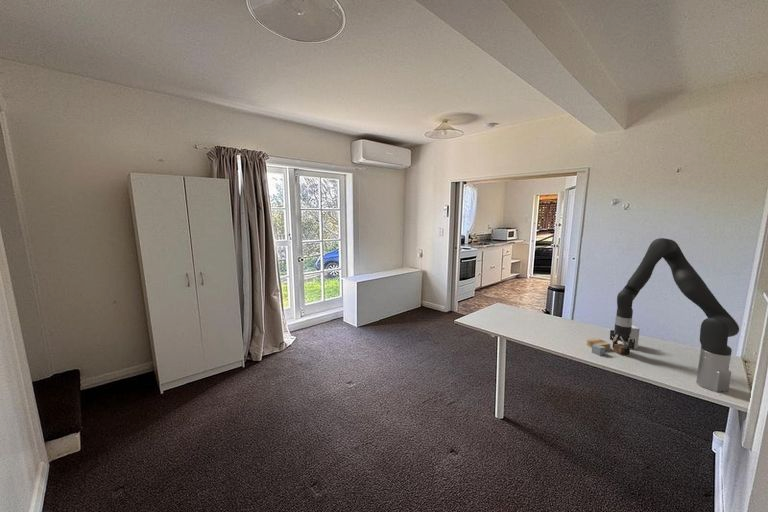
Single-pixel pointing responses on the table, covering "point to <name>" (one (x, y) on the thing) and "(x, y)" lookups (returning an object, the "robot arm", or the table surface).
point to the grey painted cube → (598, 349)
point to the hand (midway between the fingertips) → (620, 351)
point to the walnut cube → (619, 349)
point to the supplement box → (633, 336)
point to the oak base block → (598, 341)
